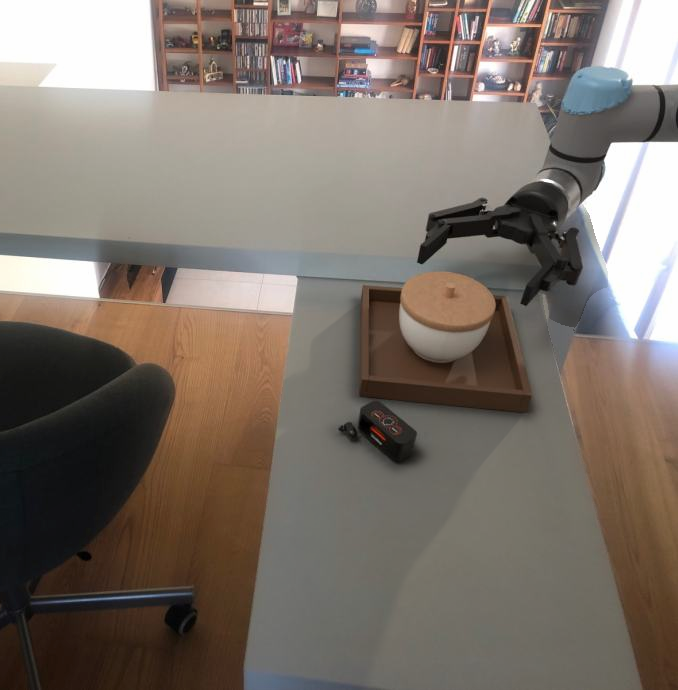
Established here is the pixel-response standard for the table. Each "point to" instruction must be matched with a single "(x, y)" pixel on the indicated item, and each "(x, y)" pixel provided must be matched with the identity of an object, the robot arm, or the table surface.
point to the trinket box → (444, 315)
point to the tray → (439, 378)
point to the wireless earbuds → (383, 430)
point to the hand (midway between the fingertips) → (471, 274)
